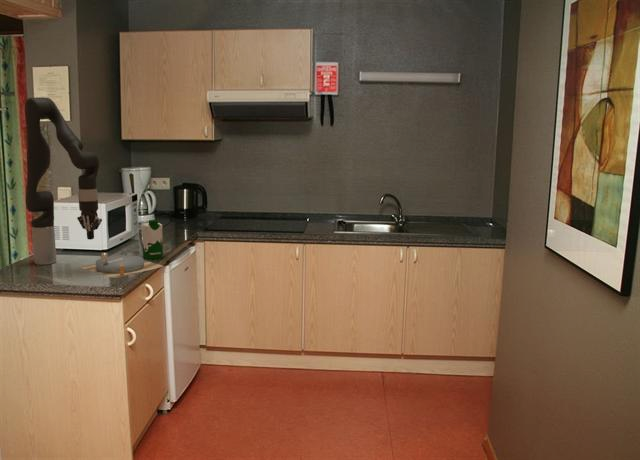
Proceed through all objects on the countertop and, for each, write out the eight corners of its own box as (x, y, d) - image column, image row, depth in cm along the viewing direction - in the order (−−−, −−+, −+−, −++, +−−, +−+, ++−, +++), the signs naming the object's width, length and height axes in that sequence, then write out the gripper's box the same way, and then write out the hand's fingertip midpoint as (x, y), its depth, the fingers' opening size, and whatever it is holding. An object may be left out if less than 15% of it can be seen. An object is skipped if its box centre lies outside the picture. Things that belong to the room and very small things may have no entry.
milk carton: (147, 263, 254) (145, 222, 251) (140, 259, 261) (139, 219, 258) (165, 261, 260) (164, 220, 256) (158, 257, 267) (157, 217, 263)
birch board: (79, 270, 240) (79, 258, 239) (130, 259, 261) (130, 248, 260) (113, 281, 225) (113, 268, 224) (165, 269, 246) (165, 257, 245)
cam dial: (121, 259, 255) (120, 242, 253) (153, 265, 246) (152, 248, 244) (85, 268, 237) (84, 251, 236) (119, 275, 228) (118, 257, 227)
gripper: (70, 199, 231) (72, 239, 234) (92, 201, 225) (94, 242, 228) (84, 197, 238) (87, 236, 241) (106, 199, 232) (108, 239, 235)
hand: (90, 239), depth 235 cm, fingers closed
